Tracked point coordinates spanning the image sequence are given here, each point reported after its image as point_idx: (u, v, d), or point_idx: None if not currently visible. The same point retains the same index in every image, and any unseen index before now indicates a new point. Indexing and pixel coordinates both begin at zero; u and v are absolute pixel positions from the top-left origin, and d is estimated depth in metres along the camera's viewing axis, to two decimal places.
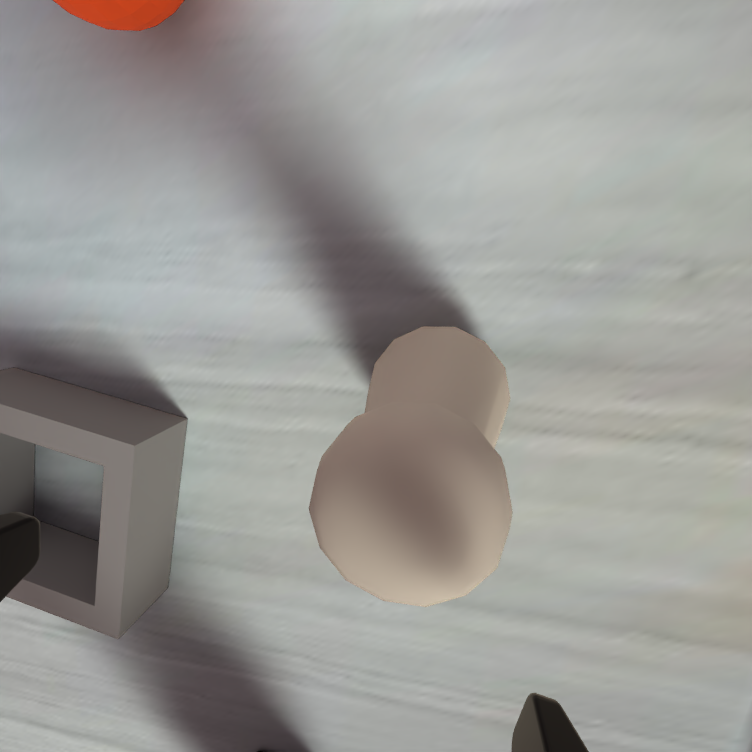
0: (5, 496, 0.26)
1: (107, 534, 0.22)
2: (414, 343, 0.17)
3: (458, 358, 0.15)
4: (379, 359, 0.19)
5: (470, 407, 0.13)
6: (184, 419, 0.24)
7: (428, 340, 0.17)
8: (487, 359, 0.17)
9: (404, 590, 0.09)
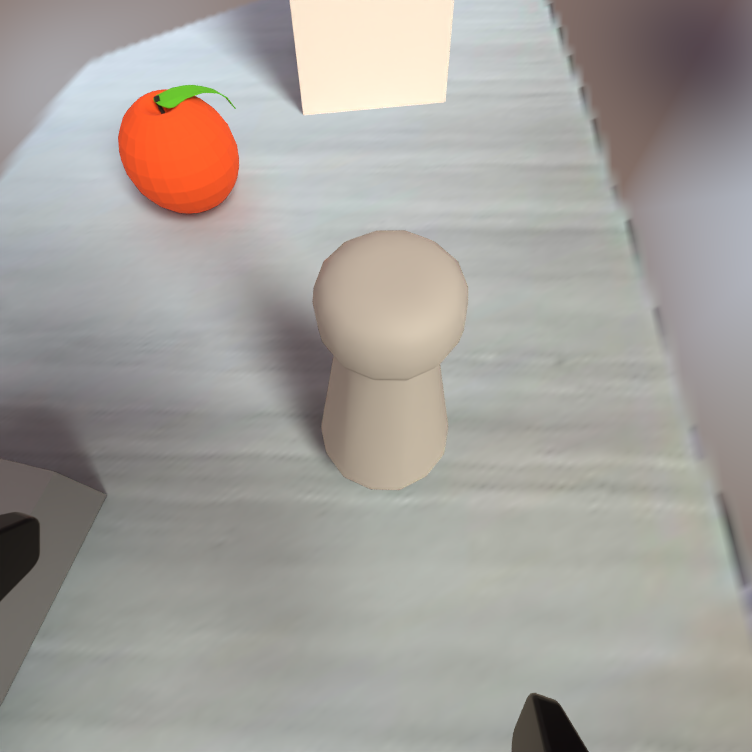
0: None
1: None
2: None
3: None
4: None
5: None
6: (103, 493, 0.22)
7: None
8: None
9: (394, 317, 0.11)
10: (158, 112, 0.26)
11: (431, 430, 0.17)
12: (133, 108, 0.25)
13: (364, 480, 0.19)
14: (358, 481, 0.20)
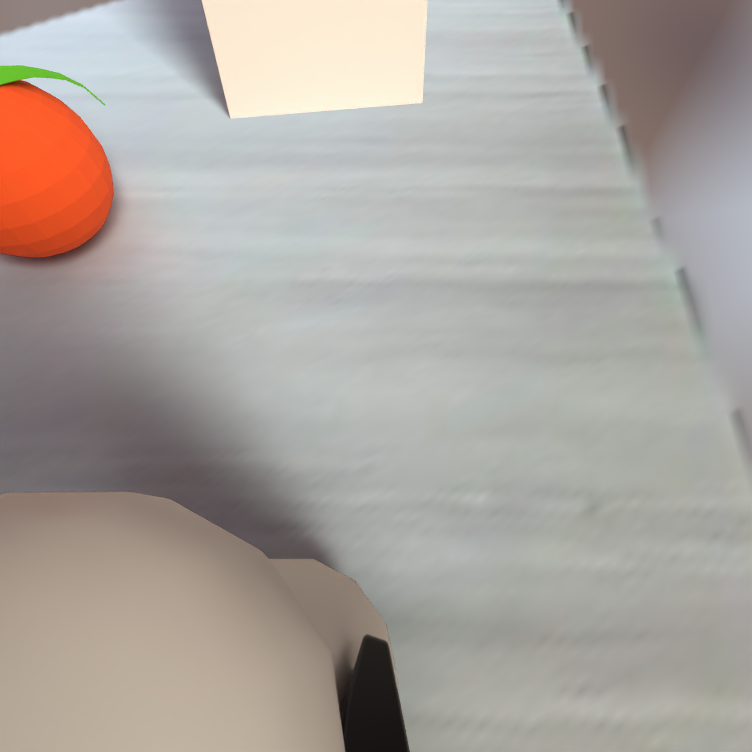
0: None
1: None
2: None
3: (304, 575, 0.09)
4: None
5: None
6: None
7: None
8: (355, 597, 0.11)
9: None
10: None
11: None
12: None
13: None
14: None
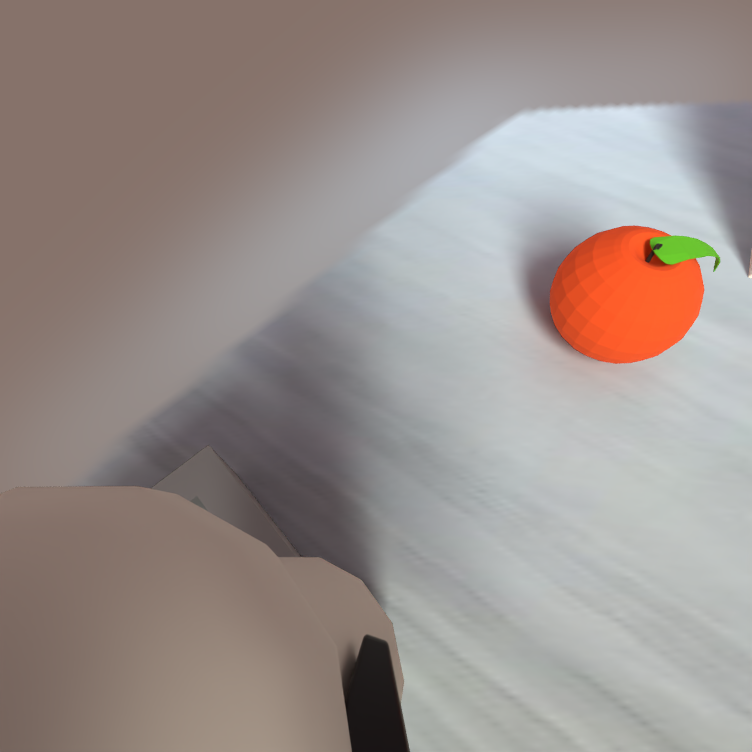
0: None
1: None
2: None
3: (310, 573, 0.10)
4: None
5: None
6: None
7: None
8: (361, 595, 0.11)
9: None
10: (643, 257, 0.21)
11: None
12: (620, 243, 0.21)
13: None
14: None
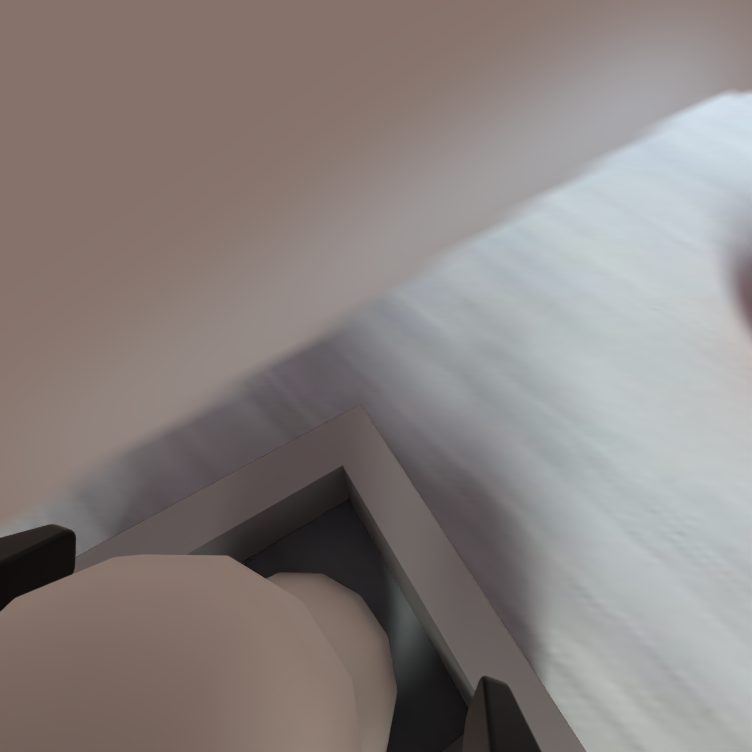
0: None
1: None
2: None
3: (316, 592, 0.11)
4: None
5: None
6: None
7: (280, 579, 0.12)
8: (361, 612, 0.12)
9: None
10: None
11: None
12: None
13: None
14: None
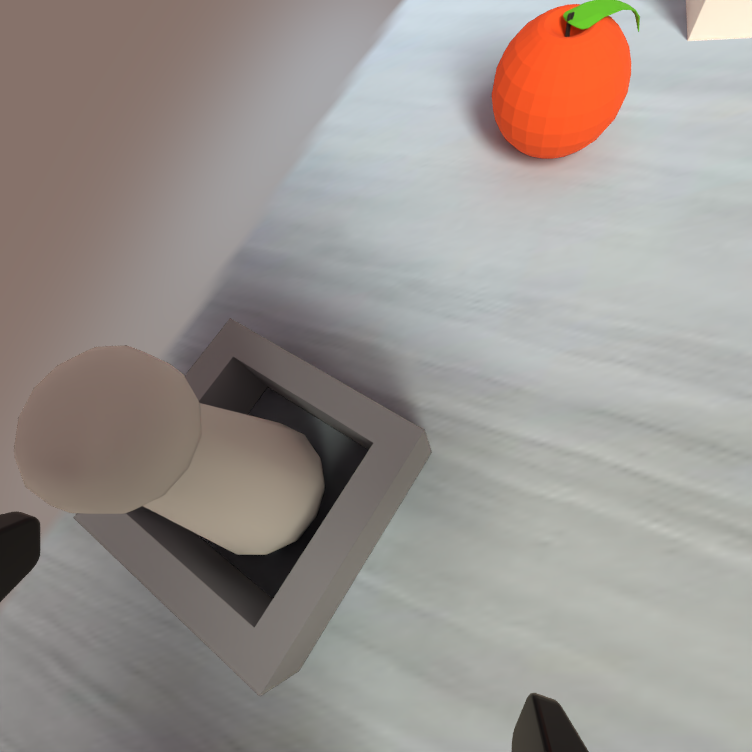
0: None
1: (332, 526, 0.17)
2: None
3: None
4: None
5: (211, 406, 0.15)
6: (430, 450, 0.22)
7: None
8: (273, 422, 0.20)
9: (85, 463, 0.10)
10: (562, 34, 0.22)
11: (277, 486, 0.17)
12: (537, 28, 0.22)
13: (254, 551, 0.19)
14: (251, 553, 0.19)
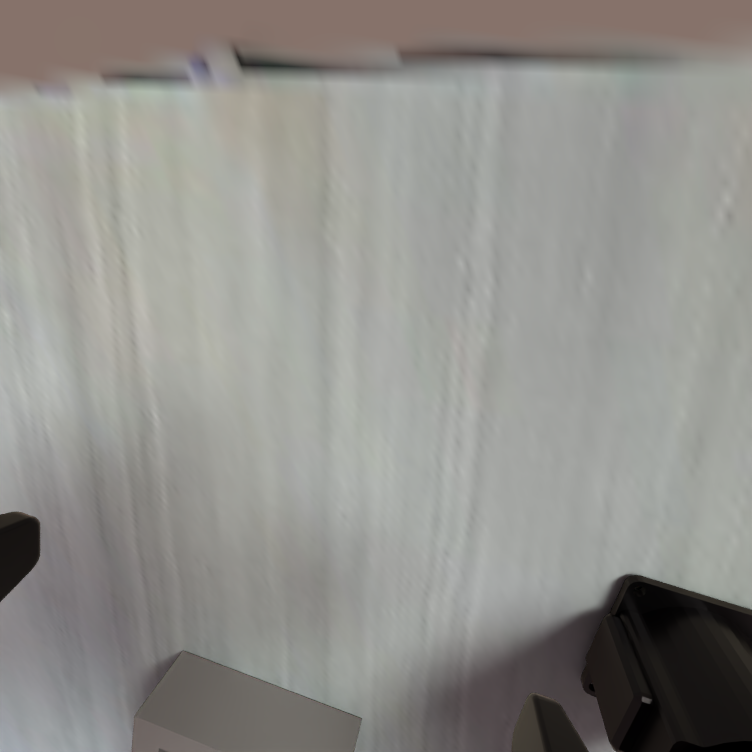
0: None
1: None
2: None
3: None
4: None
5: None
6: (180, 654, 0.26)
7: None
8: None
9: None
10: None
11: None
12: None
13: None
14: None
